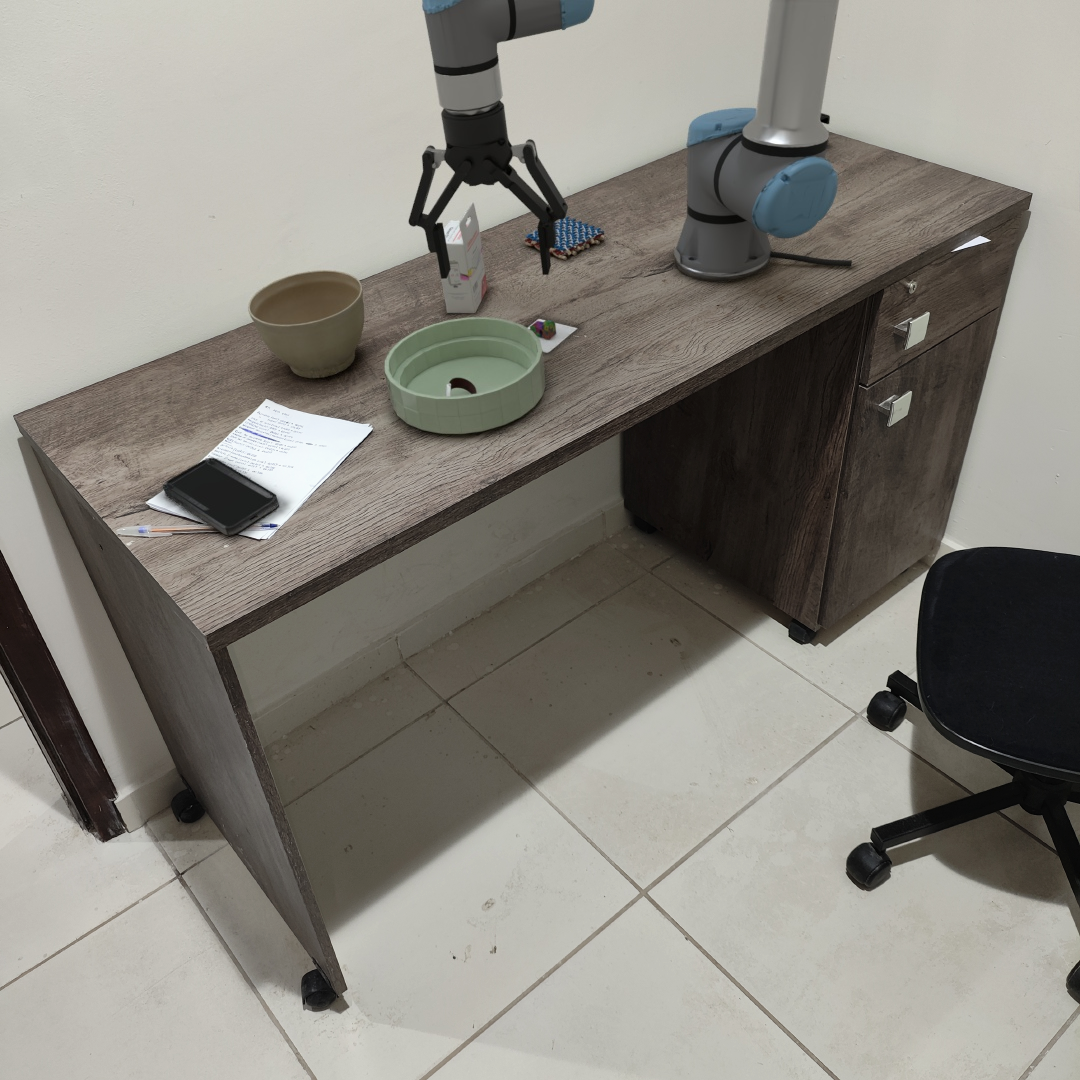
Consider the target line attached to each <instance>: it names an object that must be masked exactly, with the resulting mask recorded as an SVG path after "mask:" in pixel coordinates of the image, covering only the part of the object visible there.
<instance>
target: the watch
mask: <svg viewBox="0 0 1080 1080" xmlns="http://www.w3.org/2000/svg"><path fill="white" fill-rule="evenodd" d="M454 388H462V389H465V390H467V391H468V392H470V393H471V394H478V393H477V392H476V388H475V386H474V385H473V384H472V383H471V382H470V381H468V380H467V379H464V378H459V377H457V378H453V379H451V380H450V382H449V384H447V385H446V392H445V396H450V392H451V390H452V389H454Z"/></svg>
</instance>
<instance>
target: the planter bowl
mask: <svg viewBox="0 0 1080 1080" xmlns="http://www.w3.org/2000/svg"><path fill="white" fill-rule="evenodd" d="M247 312H248V314H249V316H250V318H251V320H252V322H254V325H255V329H256V330H257V333H258V334H259V337H260V338H261V340H262V341H263V344H264V345H265V346H266V347H267V348H268V350H270V352H272V354H273V355H274V356H276V358H278V359H279V360H280V361H282V362H283V363H284V364H286V365H288V366H289V367H290V370H291V371H292V372H293V373H294V374H295V375H296V376H299V377H302V378H306V379H323V378H327V377H331V376H334V375H336V374H340V373H341V372H343V371H344V370H346V369H347V368H349V367H350V366H351V365H352V364H353V362H354V361H355V358H356V357H355V356H356V352H355V351H356V349H357V347H358V345H359V343H360V340H361V339H362V338H361V337H362V333H363V329H364V324H365V304H364V289H363V286H362V282H361V281H360V280H359V279H358V277H355V276H354V275H352V274H349V273H347V272H344V271H338V270H329V269H328V270H326V269H325V270H324V269H323V270H322V269H320V270H310V271H309V270H307V271H304V272H297V273H294V274H291V275H287V276H284V277H281V278H278V279H276V280H274V281H272V282H270V283H269V284H267V285H265V286H264V287H262V288H260V289H259V290H258V291H256V293H254V294H253V295H252V297H251V298H250V300H249V302H248V305H247Z"/></svg>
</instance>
